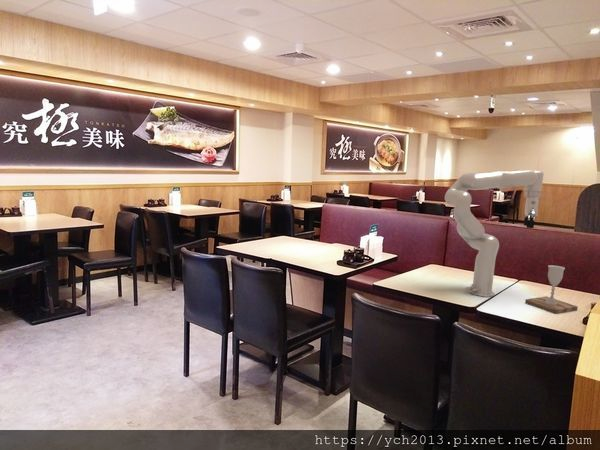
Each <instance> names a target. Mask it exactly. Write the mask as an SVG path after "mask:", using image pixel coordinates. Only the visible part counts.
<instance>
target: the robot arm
mask: <svg viewBox="0 0 600 450" xmlns="http://www.w3.org/2000/svg"><path fill="white" fill-rule="evenodd" d="M543 180H544V172H543V170H533V169H519V168H518V169H514V170H513V171H503V170H498V171H497V170H494V171H488V172H477V173H475V172H472V173H471V172H466V173H463V174H462V175H461V176H459V178H457V179H456V180H455V182H454V183H453V184H452V185H451V186H450V187H449V188H448V189H447V191H446V192H445V193H444V194H445V195H444V201H445V203H446V204H448V205H449V206H453V207H454V208H453V218H454V220H455V222H456V223H457V224H456V231H457V233H458V234H459V236H460V237H461V238H462V239H463V241H465V243H467V244H468V245H469V246H470V247H471V248H472V249H474V250H477V251H478V253H477V254H476V257H475V261H474V262H475V263H474V269H473V279H472V284H471V285H470V286H467V287H466V288H465V289H466V291H467V292H469V293H470V294H471V295H475V296H478V297H483V298H485V297H486V298H487V297H488V298H489V297H494V296H495V292H494V291H493V283H494V274H495V267H496V261H497V260H496V259H497V254H498V252H499V249H500V242H499V240H498V238H497V236H496V237H495V236H494V235H492V234H489V233H485V227H484V226H483V224H482V223H481V222H480V221H479V220H478V219H477V218H476V217H475V215H474V214H473V213H472V212H471V204H472V195H471V193H469V192H468V191H469V190H470V191H471V190H472V191H479V190H487V189H488V190H489V189H499V188H500V189H502V188H511V187H512V188H513V187H525V188H524V195H523V196H524V198H525V206H524V219H523V226H525V227H526V228H528V229H534V226H535V221H536V220H535V217H538V213H539V212H538V211H539V201H540V200H539V198H541V196H542V189H543V184H544V183H543V182H544V181H543Z"/></svg>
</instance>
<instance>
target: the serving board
mask: <svg viewBox="0 0 600 450" xmlns="http://www.w3.org/2000/svg"><path fill="white" fill-rule="evenodd" d="M548 297H549V296H547V295H546V296H540V297H533V298H526V299H525V302H524V304H526V305H529V306H532V307H533V308H538V309H540V310H542V311H543V310H544V311H546V312H549V313H551V314H555V315H558V314H563V313H571V312H574V311H575V312H576V311H578V307H579V306H577V305H574V304H571V303H567V302H566V301H561V300H559V299H556V303H557V304H549V303H546V302H545V301H546V300H547V298H548Z"/></svg>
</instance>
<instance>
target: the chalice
mask: <svg viewBox="0 0 600 450" xmlns="http://www.w3.org/2000/svg"><path fill="white" fill-rule="evenodd" d="M547 267H548V270H547V279H548V281H549V284H550V285H551V286H552V287H551V289H550V290H551V292H550V297H549V296H547V297H548V298H547V300H546V301H545V302H546V303H549V304H557V303H556V300H557V298H555V297H554V295H556V293H555V290H556V287H557V286H558V285H559V284H560V283H561V282H562V279H563V277H564V273H565V272H564V271H565V269H566V268H565V266H559V265H547Z"/></svg>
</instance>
